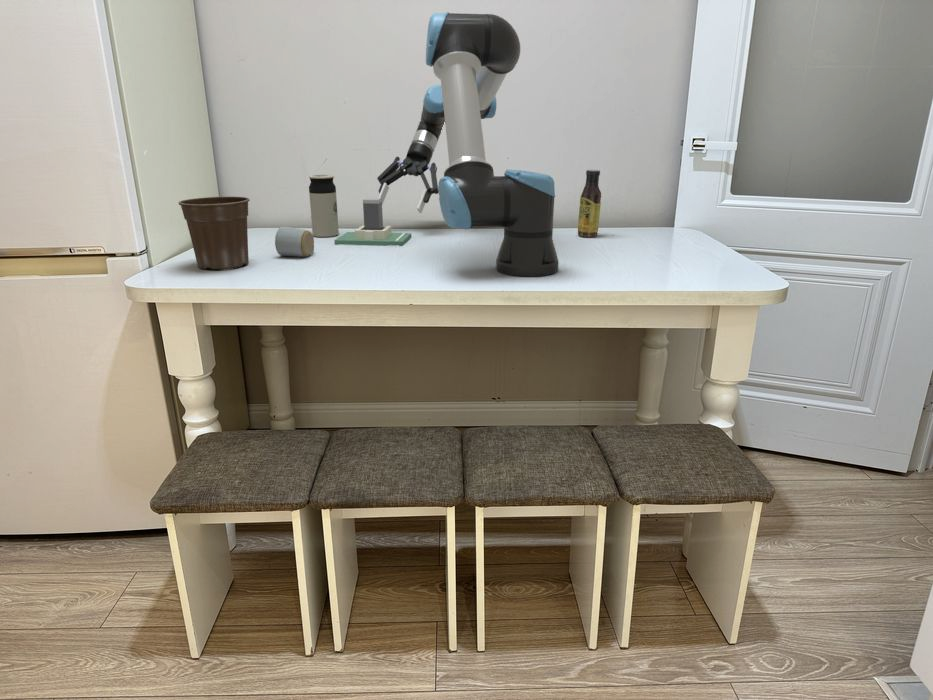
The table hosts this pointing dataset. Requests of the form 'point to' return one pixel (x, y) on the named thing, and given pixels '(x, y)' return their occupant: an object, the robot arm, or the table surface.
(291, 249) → the ceramic mug
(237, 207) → the plant pot
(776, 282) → the table surface
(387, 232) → the board
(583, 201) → the sauce bottle
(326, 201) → the travel mug
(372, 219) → the plug
